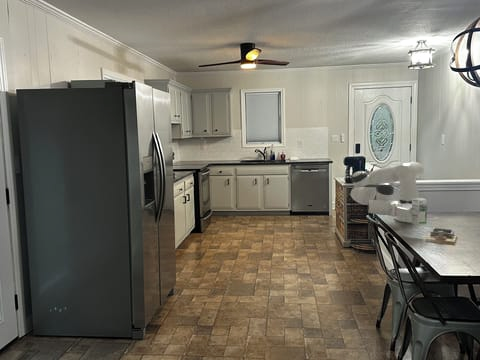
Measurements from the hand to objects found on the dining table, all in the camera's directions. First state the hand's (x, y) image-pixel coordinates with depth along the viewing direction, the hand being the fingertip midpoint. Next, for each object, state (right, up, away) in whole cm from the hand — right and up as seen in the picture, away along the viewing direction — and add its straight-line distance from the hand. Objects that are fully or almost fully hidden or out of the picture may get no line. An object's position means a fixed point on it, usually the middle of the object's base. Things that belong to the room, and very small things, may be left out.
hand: (420, 210), depth 238 cm
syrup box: (-1, -8, +1) cm, 8 cm away
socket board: (+9, -15, -5) cm, 19 cm away
